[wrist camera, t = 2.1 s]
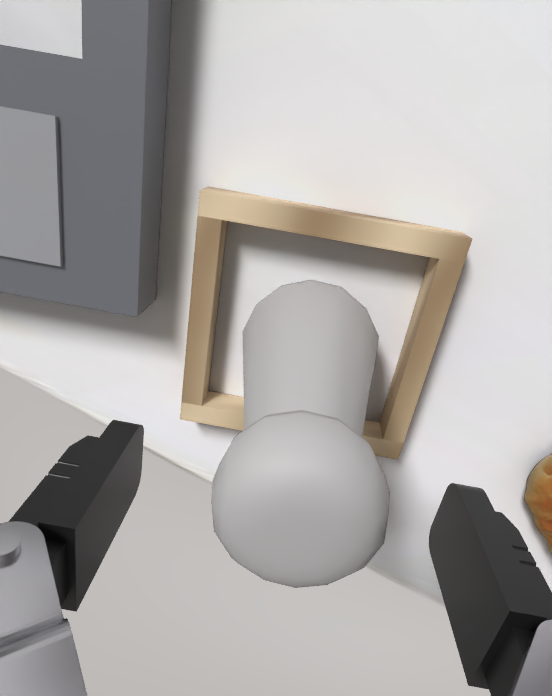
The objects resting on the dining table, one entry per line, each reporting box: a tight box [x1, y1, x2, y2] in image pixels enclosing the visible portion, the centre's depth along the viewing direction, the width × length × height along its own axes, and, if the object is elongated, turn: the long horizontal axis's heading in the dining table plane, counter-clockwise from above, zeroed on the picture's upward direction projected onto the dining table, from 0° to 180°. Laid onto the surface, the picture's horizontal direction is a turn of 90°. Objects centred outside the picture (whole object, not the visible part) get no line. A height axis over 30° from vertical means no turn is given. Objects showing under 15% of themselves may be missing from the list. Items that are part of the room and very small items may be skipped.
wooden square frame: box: [180, 187, 472, 459], centre depth 21 cm, size 11×11×2 cm
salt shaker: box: [211, 280, 390, 588], centre depth 16 cm, size 6×6×13 cm
